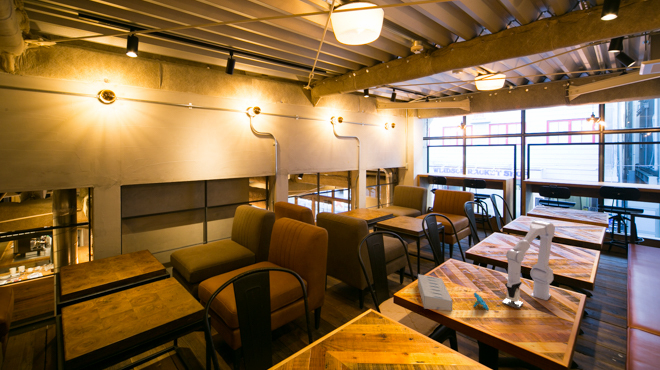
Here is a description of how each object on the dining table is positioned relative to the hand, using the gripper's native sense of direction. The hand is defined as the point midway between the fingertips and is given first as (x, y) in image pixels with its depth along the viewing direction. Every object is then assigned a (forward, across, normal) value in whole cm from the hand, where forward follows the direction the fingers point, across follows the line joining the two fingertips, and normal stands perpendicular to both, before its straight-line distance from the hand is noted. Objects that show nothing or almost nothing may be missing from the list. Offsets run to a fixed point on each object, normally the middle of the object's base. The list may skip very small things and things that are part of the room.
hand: (513, 295), depth 163 cm
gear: (+5, +17, -10) cm, 20 cm away
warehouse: (+5, +24, -34) cm, 42 cm away
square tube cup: (+2, 0, 0) cm, 2 cm away
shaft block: (+5, 0, 0) cm, 5 cm away
